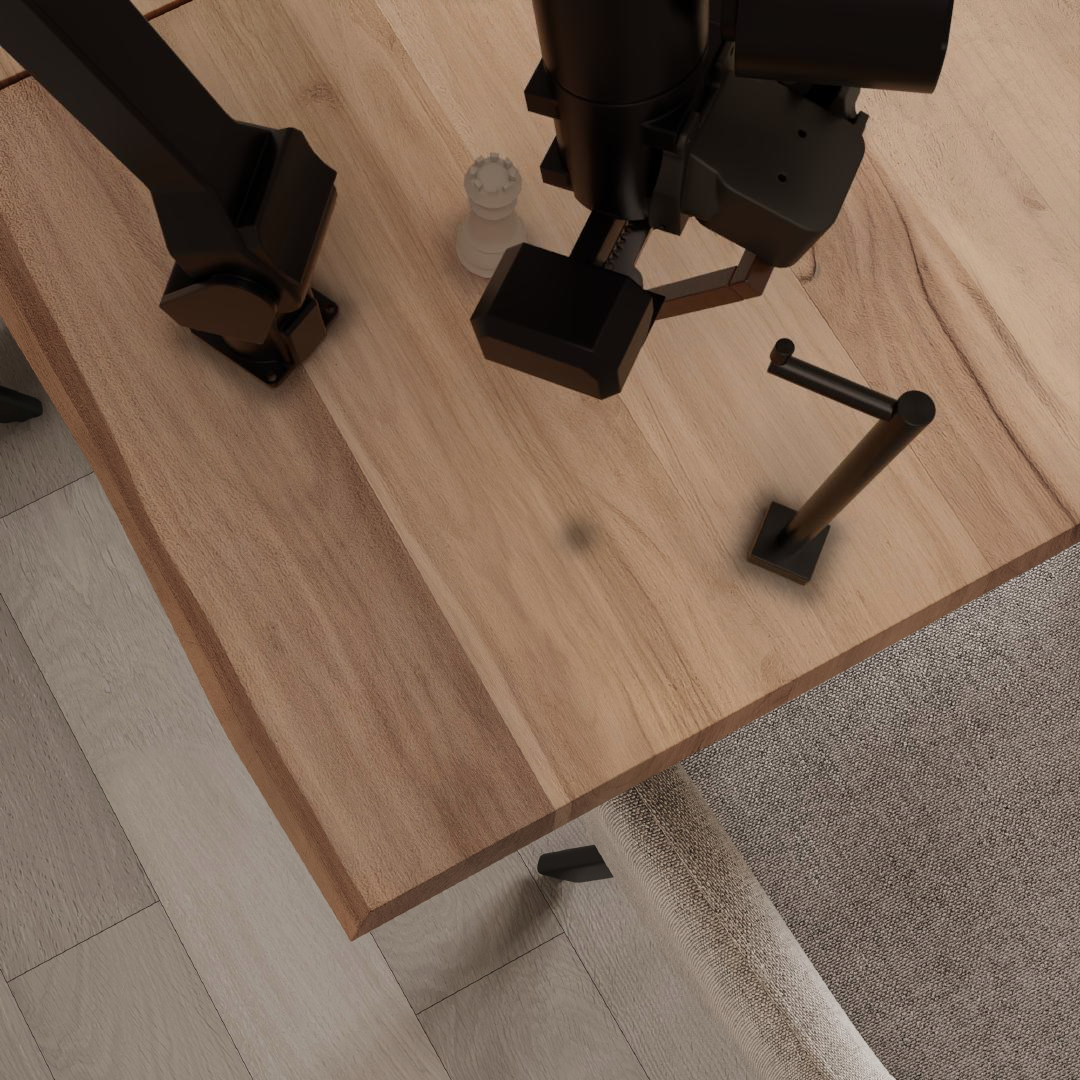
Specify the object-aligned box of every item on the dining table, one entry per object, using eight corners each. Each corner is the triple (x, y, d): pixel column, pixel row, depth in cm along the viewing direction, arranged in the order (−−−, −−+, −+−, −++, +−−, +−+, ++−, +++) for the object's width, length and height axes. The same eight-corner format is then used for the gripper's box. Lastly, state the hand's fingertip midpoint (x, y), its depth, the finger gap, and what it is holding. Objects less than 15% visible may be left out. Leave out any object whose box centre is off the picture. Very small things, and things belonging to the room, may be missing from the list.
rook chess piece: (447, 272, 67) (442, 196, 59) (466, 211, 68) (463, 129, 61) (518, 290, 67) (522, 215, 59) (535, 228, 68) (542, 147, 60)
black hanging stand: (674, 530, 63) (760, 379, 43) (697, 476, 64) (791, 305, 44) (804, 586, 62) (950, 459, 43) (825, 531, 63) (977, 382, 44)
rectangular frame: (568, 325, 51) (764, 276, 40) (625, 209, 53) (828, 131, 42) (583, 337, 52) (781, 292, 41) (639, 221, 54) (844, 148, 43)
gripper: (746, 339, 33) (731, 516, 48) (948, -116, 37) (878, 173, 52) (423, 233, 36) (503, 430, 50) (647, -179, 40) (660, 113, 55)
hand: (644, 284), depth 52 cm, fingers closed on rectangular frame, 7 cm apart
